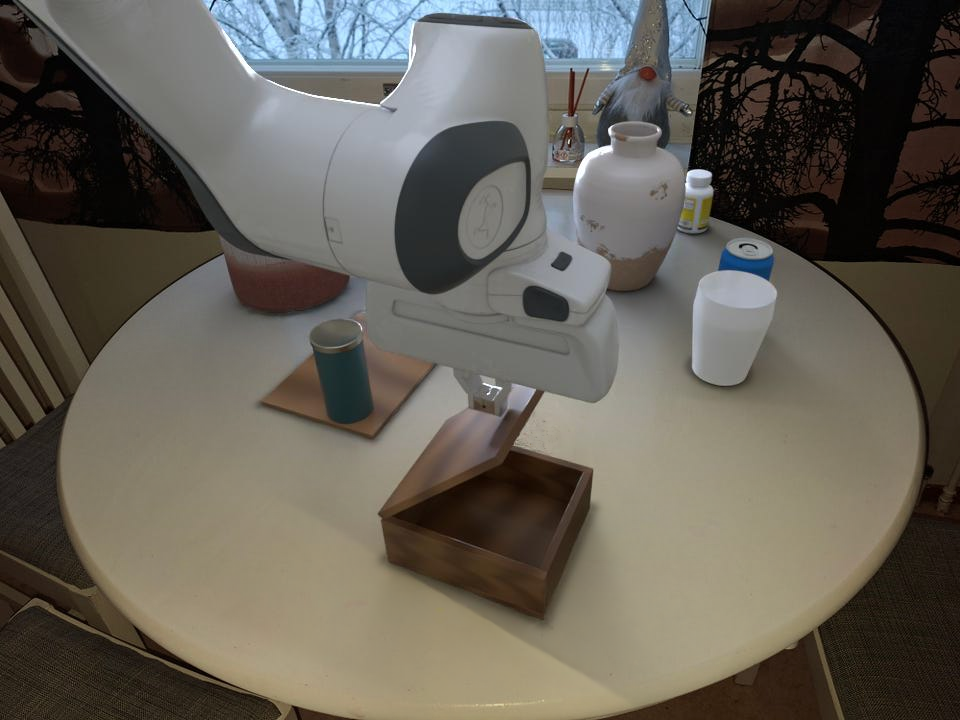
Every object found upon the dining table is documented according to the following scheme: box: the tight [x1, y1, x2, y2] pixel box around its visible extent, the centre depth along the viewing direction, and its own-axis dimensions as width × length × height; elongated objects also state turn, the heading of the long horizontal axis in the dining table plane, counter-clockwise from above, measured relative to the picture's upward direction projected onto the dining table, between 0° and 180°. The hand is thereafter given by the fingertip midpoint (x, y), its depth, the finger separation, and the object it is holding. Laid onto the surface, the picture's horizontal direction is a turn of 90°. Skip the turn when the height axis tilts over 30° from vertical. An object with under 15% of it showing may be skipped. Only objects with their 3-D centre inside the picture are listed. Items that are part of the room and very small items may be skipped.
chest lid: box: [377, 384, 546, 520], centre depth 60 cm, size 16×14×1 cm
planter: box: [217, 232, 351, 314], centre depth 102 cm, size 18×18×16 cm
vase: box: [572, 120, 687, 292], centre depth 99 cm, size 16×16×23 cm
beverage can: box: [717, 237, 775, 282], centre depth 90 cm, size 6×6×12 cm
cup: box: [691, 270, 778, 387], centre depth 82 cm, size 9×9×12 cm
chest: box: [380, 444, 594, 621], centre depth 65 cm, size 16×14×6 cm
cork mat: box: [260, 311, 437, 440], centre depth 88 cm, size 22×16×1 cm
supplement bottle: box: [677, 169, 714, 234], centre depth 116 cm, size 5×5×10 cm
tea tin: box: [308, 318, 374, 424], centre depth 78 cm, size 6×6×11 cm
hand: (488, 408), depth 57 cm, fingers closed
